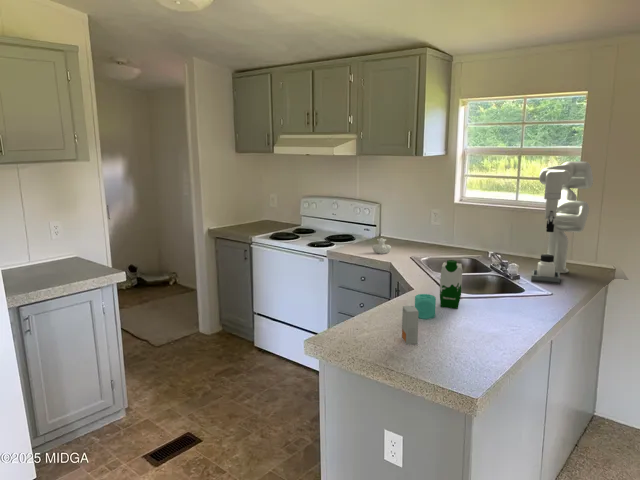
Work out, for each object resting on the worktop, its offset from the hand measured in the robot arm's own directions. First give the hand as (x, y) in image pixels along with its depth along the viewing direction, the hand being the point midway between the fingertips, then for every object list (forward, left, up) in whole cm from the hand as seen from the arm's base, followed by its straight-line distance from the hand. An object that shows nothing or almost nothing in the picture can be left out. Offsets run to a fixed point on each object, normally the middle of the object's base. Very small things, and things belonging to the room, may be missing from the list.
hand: (549, 230), depth 243 cm
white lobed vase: (-25, -95, -26) cm, 102 cm away
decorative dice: (+79, -44, -26) cm, 94 cm away
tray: (0, 0, -25) cm, 25 cm away
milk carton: (+62, -37, -26) cm, 77 cm away
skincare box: (+107, -43, -26) cm, 118 cm away
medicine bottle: (0, 0, -25) cm, 25 cm away
